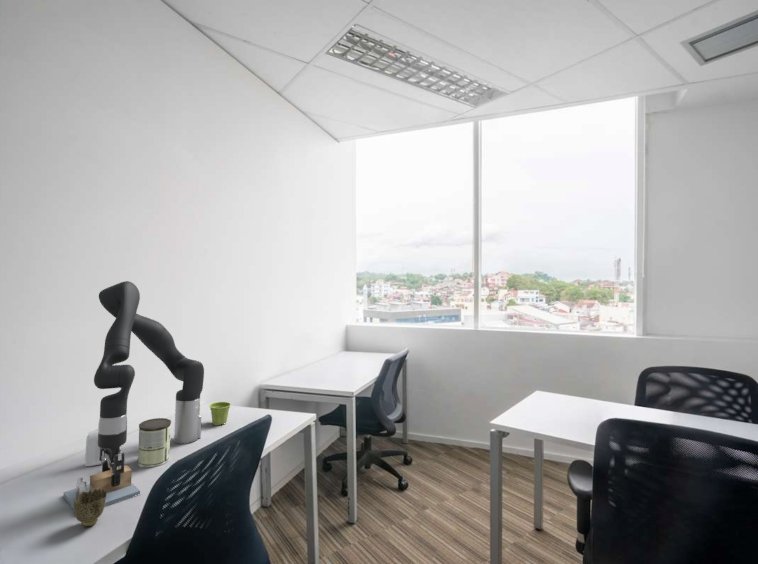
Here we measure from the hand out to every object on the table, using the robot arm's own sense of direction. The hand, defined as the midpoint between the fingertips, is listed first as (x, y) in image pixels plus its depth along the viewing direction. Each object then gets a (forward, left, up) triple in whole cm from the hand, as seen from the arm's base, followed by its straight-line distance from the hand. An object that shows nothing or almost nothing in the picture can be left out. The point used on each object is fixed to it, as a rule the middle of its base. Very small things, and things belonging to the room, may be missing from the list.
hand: (110, 480), depth 127 cm
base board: (+2, 0, -4) cm, 4 cm away
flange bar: (0, 0, -3) cm, 3 cm away
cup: (+9, +14, -4) cm, 17 cm away
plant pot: (-54, -32, -4) cm, 63 cm away
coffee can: (-18, -13, -4) cm, 22 cm away
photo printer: (-5, -24, -4) cm, 25 cm away
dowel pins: (+8, 0, -2) cm, 8 cm away
